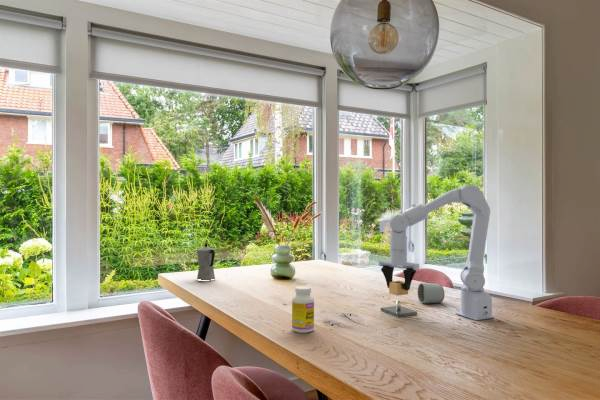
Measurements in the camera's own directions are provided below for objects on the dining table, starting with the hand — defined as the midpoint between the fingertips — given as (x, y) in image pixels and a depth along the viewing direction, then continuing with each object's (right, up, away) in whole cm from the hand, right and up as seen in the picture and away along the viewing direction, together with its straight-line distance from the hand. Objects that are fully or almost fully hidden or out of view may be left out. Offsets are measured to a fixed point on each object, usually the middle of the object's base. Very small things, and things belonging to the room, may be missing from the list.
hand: (398, 288), depth 156 cm
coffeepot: (-80, -9, +63) cm, 102 cm away
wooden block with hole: (0, -2, 0) cm, 2 cm away
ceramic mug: (+15, -9, +16) cm, 24 cm away
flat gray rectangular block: (0, -8, 0) cm, 8 cm away
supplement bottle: (-33, -9, -21) cm, 40 cm away
